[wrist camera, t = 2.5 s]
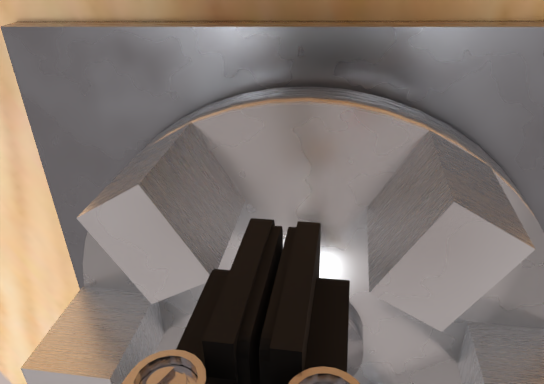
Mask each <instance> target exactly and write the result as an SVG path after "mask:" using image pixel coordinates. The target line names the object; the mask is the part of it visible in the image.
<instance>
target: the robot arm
mask: <svg viewBox="0 0 544 384" xmlns="http://www.w3.org/2000/svg"><path fill="white" fill-rule="evenodd" d="M320 241H321V223H317V222H302V221H298V222H297V227H288V230H287V234H286V238H285V242H284V246H283V229H282V226H275V223H274V220H272V219H257V218H251V219H250V221H249V223H248V226H247V228H246V231H245V234H244V236H243V239H242V241H241V244H240V246H239V249H238V251H237V254H236V256H235V259H234V261H233V264H232V266H231V269H230V270H222V269H214V270H212V272H211V273H210V275H209V277H208V280H207V282H206V284H205V286H204V288H203V291H202V293H201V295H200V297H199V300H198V302H197V304H196V306H195V308H194V311H193V313H192V315H191V317H190V320H189V322H188V324H187V326H186V328H185V331H184V333H183V335H182V337H181V339H180V342H179V344H178V346H177V348H176V350H174V349H172V350H165V351H160V352H157V353H155V354H152V355H149V356H148V357H146V358H145V359H143V360H142V361H140V362H139V363H138V364H137V365H136V366H135V367H134V368H133V369H132V370H131V371H130V373H129V374H128V375H127V377H126V378H125V379H124V381H123V382H122V384H360V383H359V382H358V380H357V379H355V378H354V377H352V376H351V375H350V374H348V373H347V358H348V325H349V291H350V280H340V279H328V278H319V274H320Z"/></svg>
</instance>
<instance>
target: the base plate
mask: <svg viewBox="0 0 544 384" xmlns="http://www.w3.org/2000/svg"><path fill="white" fill-rule="evenodd" d="M1 30H2V33H3V36H4V40H5V43H6V46H7V50H8V53H9V56H10V59H11V63H12V66H13V69H14V73H15V76H16V79H17V83H18V86H19V89H20V93H21V96H22V99H23V102H24V106H25V109H26V112H27V116H28V119H29V122H30V126H31V129H32V132H33V135H34V139H35V142H36V145H37V149H38V152H39V155H40V159H41V162H42V165H43V169H44V172H45V175H46V178H47V182H48V185H49V188H50V192H51V195H52V198H53V202H54V205H55V208H56V211H57V215H58V218H59V221H60V225H61V228H62V231H63V235H64V238H65V241H66V244H67V248H68V251H69V254H70V258H71V261H72V264H73V268H74V271H75V274H76V278H77V281H78V284H79V287H80V290H81V288H82V287H84V277H83V255H84V246H85V239H86V236H87V232H88V231H87V230H86V229H85V228H84V226H83V225H82V224H81V223H80V222H79V221H78V220H77V217H78V216H79V215H80V214H81V213H82V211H83V210H84V209H85V208H86V207H87V206H88V205H89V204H90V203H91V202H92V201H93V200H94V199H95V198H96V197H97V196H98V195H99V194H100V193H101V192H102V191H103V190H104V189H105V188H106V186H107V185H108V184H109V183H110V182H111V181H112V180H113V179H114V178H115V177H116V176H117V175H118V174H119V173H120V172H121V171H122V170H123V169H124V168H125V167H126V166H127V165H128V164H129V163H130V161H131V160H132V159H133V158H134V157H135V156H136V155H137V154H138V153H139V152H140V151H142V150H143V149H144V148H145V147H146V146H147V145H148V144H149V143H150V142H151V141H152V140H153V139H154V138H155V137H156V136H157V135H158V134H159V133H161V132H162V131H164V130H165V129H167V128H168V127H170V126H171V125H173V124H174V123H175V122H177V121H178V120H180V119H181V118H183V117H185V116H187V115H189V114H191V113H193V112H195V111H197V110H199V109H201V108H203V107H205V106H207V105H209V104H212V103H215V102H218V101H221V100H224V99H227V98H230V97H233V96H236V95H239V94H243V93H249V92H255V91H260V90H266V89H271V88H282V87H304V86H315V87H327V88H339V89H349V90H353V91H358V92H363V93H367V94H372V95H377V96H381V97H385V98H388V99H391V100H393V101H396V102H399V103H402V104H405V105H408V106H410V107H413V108H416V109H419V110H421V111H422V112H424V113H426V114H428V115H430V116H432V117H434V118H436V119H438V120H440V121H442V122H444V123H446V124H448V125H450V126H451V127H453V128H454V129H455V130H457V131H458V132H460V133H461V134H463V135H464V136H465V137H467V138H468V139H470V140H471V141H473V142H474V143H475V144H477V145H478V146H479V147H480V148H481V149H482V150H483V151H484V152H485V153H487V154H488V155H489V156H490V157H491V158H492V159H493V160H494V161H495V162H496V163H497V164H498V165H499V166H500V167H501V168H502V169H503V170H504V172H505V173H506V174H507V176H508V177H509V178H510V179H511V181H512V182H513V183H514V185H515V186H516V187H517V189H518V190H519V191H520V193H521V194H522V196H523V198H524V199H525V201H526V203H527V204H528V206H529V208H530V209H531V211H532V213H533V214H534V216H535V217H536V219H537V221H538V223H539V225H540V226H541V228H542V230H543V232H544V21H422V22H15V23H12V24H8V25H5V26H1Z"/></svg>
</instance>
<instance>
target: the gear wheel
mask: <svg viewBox="0 0 544 384" xmlns="http://www.w3.org/2000/svg"><path fill="white" fill-rule="evenodd" d="M251 218H257V219H272V220H274V223H275V226H282V229H283V246H284V242H285V238H286V234H287V230H288V227H297V222H298V221H302V222H317V223H321V241H320V274H319V278H328V279H340V280H350V291H349V325H348V358H347V373H348V374H350V375H351V376H352V377H354V378H355V379H357V380H358V382H359V383H360V384H544V232H543V230H542V228H541V226H540V225H539V223H538V221H537V219H536V217H535V216H534V214H533V213H532V211H531V209H530V208H529V206H528V204H527V203H526V201H525V199H524V198H523V196H522V194H521V193H520V191H519V190H518V189H517V187H516V186H515V185H514V183H513V182H512V181H511V179H510V178H509V177H508V176H507V174H506V173H505V172H504V170H503V169H502V168H501V167H500V166H499V165H498V164H497V163H496V162H495V161H494V160H493V159H492V158H491V157H490V156H489V155H488V154H487V153H485V152H484V151H483V150H482V149H481V148H480V147H479V146H478V145H477V144H475V143H474V142H473V141H471V140H470V139H468V138H467V137H465V136H464V135H463V134H461V133H460V132H458V131H457V130H455V129H454V128H453V127H451V126H450V125H448V124H446V123H444V122H442V121H440V120H438V119H436V118H434V117H432V116H430V115H428V114H426V113H424V112H422V111H421V110H419V109H416V108H413V107H410V106H408V105H405V104H402V103H399V102H396V101H393V100H391V99H388V98H385V97H381V96H377V95H372V94H367V93H363V92H358V91H353V90H349V89H339V88H327V87H315V86H304V87H282V88H271V89H266V90H260V91H255V92H249V93H243V94H239V95H236V96H233V97H230V98H227V99H224V100H221V101H218V102H215V103H212V104H209V105H207V106H205V107H203V108H201V109H199V110H197V111H195V112H193V113H191V114H189V115H187V116H185V117H183V118H181V119H180V120H178V121H177V122H175V123H174V124H173V125H171V126H170V127H168V128H167V129H165V130H164V131H162V132H161V133H159V134H158V135H157V136H156V137H155V138H154V139H153V140H152V141H151V142H150V143H149V144H148V145H147V146H146V147H145V148H144V149H143V150H142V151H140V152H139V153H138V154H137V155H136V156H135V157H134V158H133V159H132V160H131V161H130V163H129V164H128V165H127V166H126V167H125V168H124V169H123V170H122V171H121V172H120V173H119V174H118V175H117V176H116V177H115V178H114V179H113V180H112V181H111V182H110V183H109V184H108V185H107V186H106V188H105V189H104V190H103V191H102V192H101V193H100V194H99V195H98V196H97V197H96V198H95V199H94V200H93V201H92V202H91V203H90V204H89V205H88V206H87V207H86V208H85V209H84V210H83V211H82V213H81V214H80V215H79V216H78V217H77V220H78V221H79V222H80V223H81V224H82V225H83V226H84V228H85V229H86V230H87V231H88V232H87V236H86V239H85V246H84V255H83V277H84V287H82V288H81V290H80V291H79V292H78V294H77V295H76V296H75V298H74V299H73V300H72V301H71V303H70V304H69V305H68V307H67V308H66V309H65V311H64V312H63V313H62V315H61V316H60V317H59V319H58V320H57V321H56V323H55V324H54V325H53V326H52V328H51V329H50V330H49V332H48V333H47V334H46V336H45V337H44V338H43V340H42V341H41V342H40V344H39V345H38V346H37V348H36V349H35V350H34V351H33V353H32V354H31V355H30V357H29V358H28V359H27V361H26V362H25V363H24V365H23V366H22V367H21V370H22V372H23V375H24V377H25V379H26V382H27V384H122V382H123V381H124V379H125V378H126V377H127V375H128V374H129V373H130V371H131V370H132V369H133V368H134V367H135V366H136V365H137V364H138V363H139V362H140V361H142V360H143V359H145V358H146V357H148V356H149V355H152V354H155V353H157V352H160V351H165V350H172V349H174V350H176V348H177V346H178V344H179V342H180V339H181V337H182V335H183V333H184V331H185V328H186V326H187V324H188V322H189V320H190V317H191V315H192V313H193V311H194V308H195V306H196V304H197V302H198V300H199V297H200V295H201V293H202V291H203V288H204V286H205V284H206V282H207V280H208V277H209V275H210V273H211V272H212V270H214V269H222V270H230V269H231V266H232V264H233V261H234V259H235V256H236V254H237V251H238V249H239V246H240V244H241V241H242V239H243V236H244V234H245V231H246V228H247V226H248V223H249V221H250V219H251Z"/></svg>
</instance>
